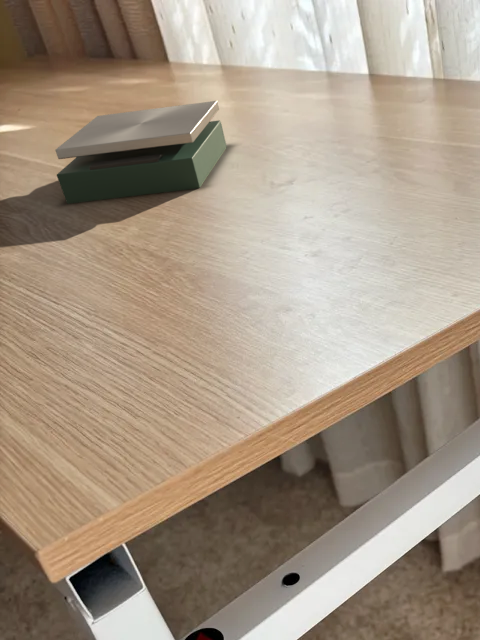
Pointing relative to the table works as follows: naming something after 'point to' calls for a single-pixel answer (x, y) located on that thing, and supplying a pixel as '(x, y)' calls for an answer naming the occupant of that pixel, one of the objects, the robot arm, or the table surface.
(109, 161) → the scale
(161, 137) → the pan
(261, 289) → the table surface
